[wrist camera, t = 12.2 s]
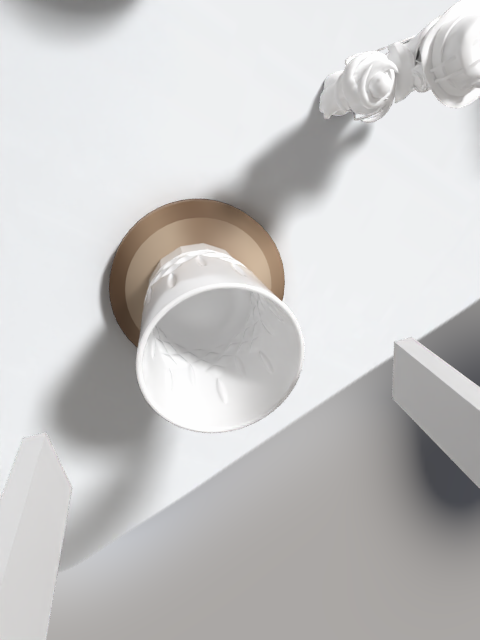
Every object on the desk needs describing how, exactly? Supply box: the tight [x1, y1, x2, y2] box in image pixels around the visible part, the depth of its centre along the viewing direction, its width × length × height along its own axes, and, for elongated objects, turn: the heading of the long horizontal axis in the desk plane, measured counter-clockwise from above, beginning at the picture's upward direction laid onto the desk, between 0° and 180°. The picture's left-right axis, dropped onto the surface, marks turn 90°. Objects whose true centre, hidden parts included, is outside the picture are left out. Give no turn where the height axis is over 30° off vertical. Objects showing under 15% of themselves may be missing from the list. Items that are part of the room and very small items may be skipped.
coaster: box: [109, 199, 285, 348], centre depth 28 cm, size 12×12×1 cm
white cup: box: [136, 243, 304, 433], centre depth 23 cm, size 8×8×10 cm
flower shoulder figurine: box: [319, 0, 480, 123], centre depth 20 cm, size 9×4×12 cm, turn 109°
